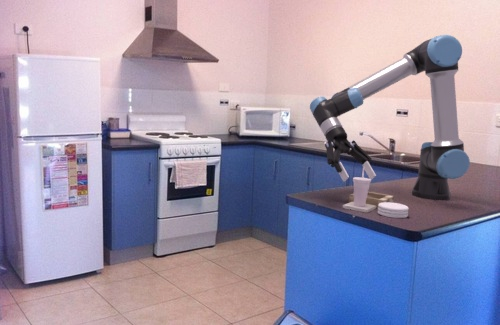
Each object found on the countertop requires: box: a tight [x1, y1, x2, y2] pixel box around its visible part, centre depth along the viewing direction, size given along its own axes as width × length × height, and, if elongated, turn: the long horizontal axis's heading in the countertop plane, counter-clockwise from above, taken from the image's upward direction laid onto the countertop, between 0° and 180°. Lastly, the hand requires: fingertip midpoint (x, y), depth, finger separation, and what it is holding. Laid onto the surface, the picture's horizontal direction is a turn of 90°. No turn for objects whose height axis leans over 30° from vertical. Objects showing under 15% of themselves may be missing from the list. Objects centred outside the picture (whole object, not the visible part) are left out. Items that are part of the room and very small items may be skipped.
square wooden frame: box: [348, 191, 395, 209], centre depth 174 cm, size 13×13×3 cm
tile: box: [342, 202, 377, 213], centre depth 163 cm, size 9×9×1 cm
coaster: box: [377, 202, 410, 219], centre depth 157 cm, size 10×10×4 cm
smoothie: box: [352, 166, 372, 207], centre depth 162 cm, size 6×6×14 cm
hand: (360, 178), depth 162 cm, fingers open, 13 cm apart
